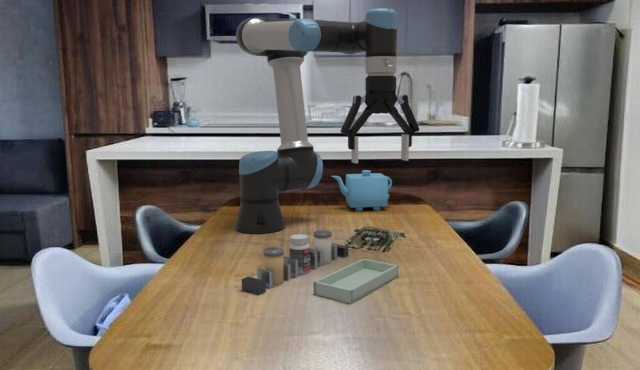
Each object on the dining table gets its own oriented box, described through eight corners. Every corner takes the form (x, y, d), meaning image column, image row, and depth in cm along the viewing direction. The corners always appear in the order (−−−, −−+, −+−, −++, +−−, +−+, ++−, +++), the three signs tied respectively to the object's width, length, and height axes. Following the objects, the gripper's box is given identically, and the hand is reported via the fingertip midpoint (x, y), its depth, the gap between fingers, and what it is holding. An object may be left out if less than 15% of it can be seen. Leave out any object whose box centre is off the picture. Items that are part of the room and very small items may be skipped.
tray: (313, 293, 111) (313, 281, 110) (363, 269, 126) (363, 258, 125) (350, 303, 105) (350, 291, 105) (398, 276, 120) (398, 265, 120)
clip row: (241, 289, 113) (241, 271, 113) (332, 252, 139) (332, 237, 139) (259, 294, 110) (258, 276, 110) (348, 255, 136) (348, 240, 136)
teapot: (388, 204, 198) (388, 167, 196) (395, 210, 187) (395, 171, 185) (329, 206, 196) (328, 169, 194) (333, 213, 185) (332, 173, 183)
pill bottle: (307, 275, 122) (307, 239, 121) (287, 273, 123) (286, 238, 122) (312, 268, 127) (311, 234, 125) (292, 267, 128) (292, 233, 126)
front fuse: (259, 283, 117) (258, 251, 116) (273, 277, 121) (272, 246, 120) (275, 287, 115) (274, 254, 113) (288, 281, 118) (287, 249, 117)
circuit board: (404, 256, 137) (404, 242, 137) (335, 253, 140) (335, 239, 140) (406, 231, 161) (406, 219, 161) (347, 229, 165) (347, 218, 164)
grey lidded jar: (310, 262, 131) (309, 233, 130) (321, 257, 135) (320, 229, 134) (324, 265, 129) (324, 236, 128) (335, 260, 132) (335, 232, 131)
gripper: (337, 74, 124) (338, 165, 127) (434, 74, 131) (431, 160, 134) (327, 75, 131) (328, 161, 134) (419, 75, 138) (418, 157, 141)
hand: (380, 161), depth 134 cm, fingers open, 13 cm apart
